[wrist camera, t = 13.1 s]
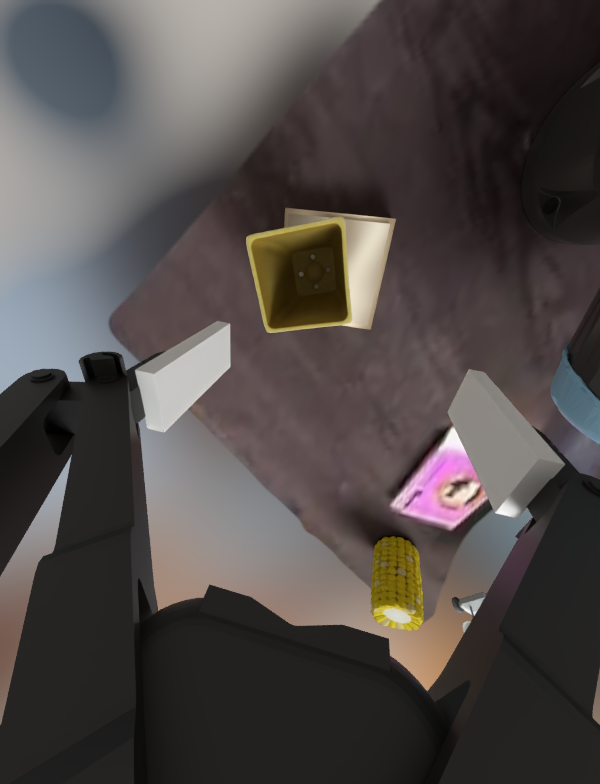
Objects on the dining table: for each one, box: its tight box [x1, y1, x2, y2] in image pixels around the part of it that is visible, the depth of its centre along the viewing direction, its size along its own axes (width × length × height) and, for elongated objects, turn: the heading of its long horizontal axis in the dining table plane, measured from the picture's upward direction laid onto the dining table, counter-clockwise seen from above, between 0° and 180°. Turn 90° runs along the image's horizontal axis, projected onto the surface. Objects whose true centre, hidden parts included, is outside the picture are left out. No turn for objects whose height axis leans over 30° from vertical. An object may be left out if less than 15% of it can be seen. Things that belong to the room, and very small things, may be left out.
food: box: [371, 536, 424, 631], centre depth 55 cm, size 15×12×10 cm
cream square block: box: [284, 208, 396, 329], centre depth 34 cm, size 12×12×4 cm
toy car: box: [452, 592, 487, 633], centre depth 61 cm, size 18×10×12 cm
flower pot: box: [246, 216, 352, 333], centre depth 28 cm, size 9×9×9 cm
